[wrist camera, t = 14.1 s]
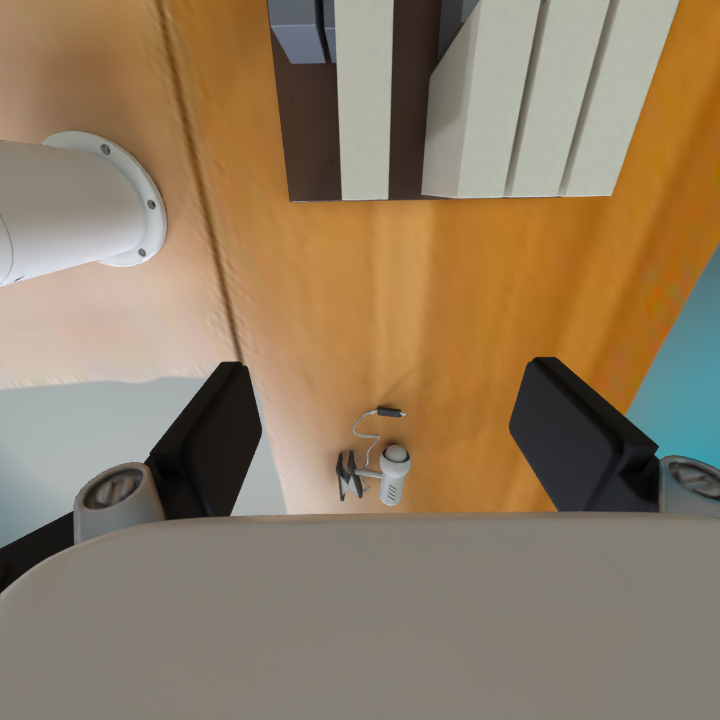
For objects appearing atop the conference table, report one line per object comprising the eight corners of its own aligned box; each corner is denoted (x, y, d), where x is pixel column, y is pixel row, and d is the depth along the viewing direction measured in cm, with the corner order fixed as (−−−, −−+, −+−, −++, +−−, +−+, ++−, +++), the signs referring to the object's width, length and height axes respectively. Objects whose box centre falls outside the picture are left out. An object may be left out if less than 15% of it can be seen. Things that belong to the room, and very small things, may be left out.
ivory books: (421, 194, 31) (456, 198, 20) (429, 76, 26) (482, -6, 15) (519, 192, 31) (611, 195, 20) (544, 74, 26) (683, -10, 15)
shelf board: (292, 201, 32) (289, 202, 31) (258, -101, 23) (252, -118, 21) (553, 196, 32) (562, 197, 31) (635, -110, 22) (652, -128, 21)
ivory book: (348, 195, 31) (341, 200, 20) (344, 78, 26) (334, -3, 15) (377, 194, 31) (388, 199, 20) (379, 77, 26) (393, -5, 15)
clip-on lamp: (344, 393, 49) (337, 486, 54) (338, 410, 43) (331, 513, 48) (417, 401, 48) (403, 494, 53) (422, 419, 42) (406, 523, 47)
